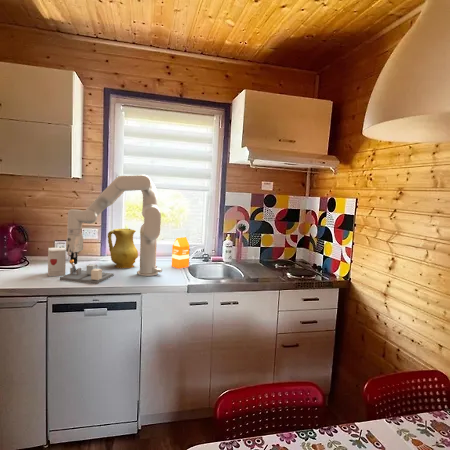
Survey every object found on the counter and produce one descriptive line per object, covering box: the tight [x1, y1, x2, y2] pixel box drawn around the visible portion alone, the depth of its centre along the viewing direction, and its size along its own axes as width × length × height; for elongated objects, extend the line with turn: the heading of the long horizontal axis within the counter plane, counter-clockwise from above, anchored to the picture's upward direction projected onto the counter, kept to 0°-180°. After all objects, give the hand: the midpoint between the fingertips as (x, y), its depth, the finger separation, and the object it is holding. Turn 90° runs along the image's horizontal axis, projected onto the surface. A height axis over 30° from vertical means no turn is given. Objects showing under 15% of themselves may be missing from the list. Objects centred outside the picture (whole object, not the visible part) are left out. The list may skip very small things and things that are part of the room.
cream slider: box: [91, 268, 103, 280], centre depth 186 cm, size 4×4×5 cm
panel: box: [59, 266, 115, 285], centre depth 193 cm, size 22×18×5 cm
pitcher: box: [107, 228, 139, 269], centre depth 225 cm, size 17×19×25 cm
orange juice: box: [171, 236, 190, 269], centre depth 232 cm, size 8×9×20 cm
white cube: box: [85, 263, 98, 275], centre depth 196 cm, size 4×4×5 cm
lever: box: [69, 259, 77, 273], centre depth 192 cm, size 2×2×9 cm
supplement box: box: [47, 246, 67, 277], centre depth 197 cm, size 9×9×15 cm
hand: (73, 263), depth 193 cm, fingers closed
